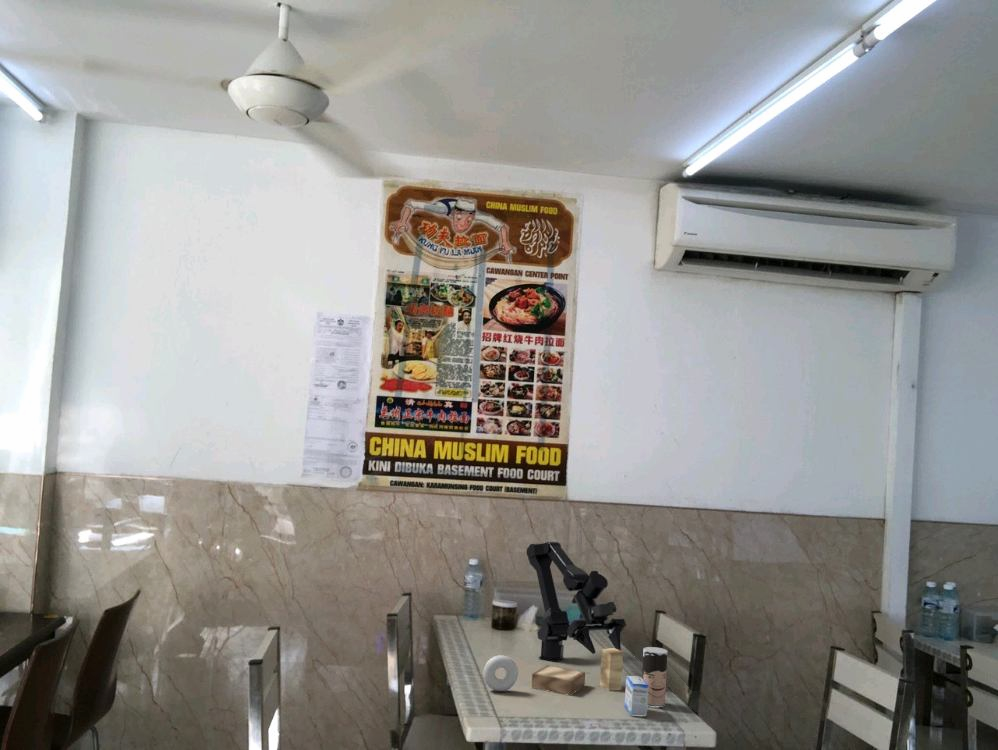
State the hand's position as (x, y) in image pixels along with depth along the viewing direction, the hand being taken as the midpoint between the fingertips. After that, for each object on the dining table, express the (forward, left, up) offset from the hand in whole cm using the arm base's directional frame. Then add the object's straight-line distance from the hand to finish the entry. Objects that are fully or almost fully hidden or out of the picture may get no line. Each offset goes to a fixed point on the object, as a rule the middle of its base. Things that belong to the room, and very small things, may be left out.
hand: (607, 652), depth 259 cm
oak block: (+2, -2, -10) cm, 10 cm away
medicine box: (+15, -20, -10) cm, 27 cm away
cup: (+17, -10, -10) cm, 22 cm away
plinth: (-11, -11, -10) cm, 18 cm away
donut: (-23, -26, -10) cm, 36 cm away
